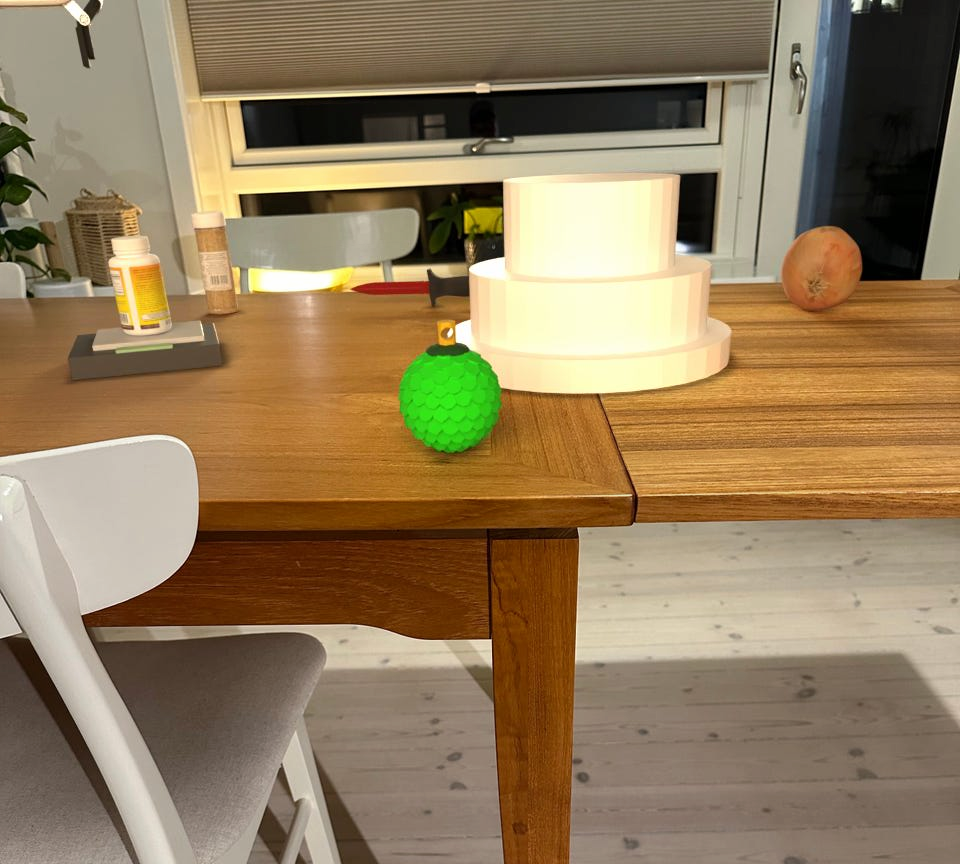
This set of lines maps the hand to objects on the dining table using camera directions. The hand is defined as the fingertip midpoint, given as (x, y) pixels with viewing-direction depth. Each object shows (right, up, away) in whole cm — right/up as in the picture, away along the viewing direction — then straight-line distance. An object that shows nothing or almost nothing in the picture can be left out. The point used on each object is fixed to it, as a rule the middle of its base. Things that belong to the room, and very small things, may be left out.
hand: (43, 68), depth 109 cm
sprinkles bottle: (+13, -18, +30) cm, 37 cm away
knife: (+43, -17, +28) cm, 55 cm away
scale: (+11, -33, +2) cm, 35 cm away
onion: (+94, -23, +14) cm, 97 cm away
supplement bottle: (+11, -30, +2) cm, 32 cm away
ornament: (+48, -51, -33) cm, 77 cm away
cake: (+62, -35, -6) cm, 71 cm away
